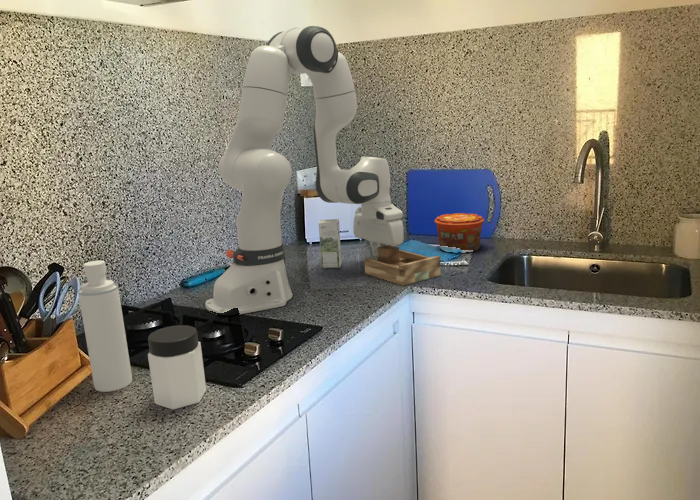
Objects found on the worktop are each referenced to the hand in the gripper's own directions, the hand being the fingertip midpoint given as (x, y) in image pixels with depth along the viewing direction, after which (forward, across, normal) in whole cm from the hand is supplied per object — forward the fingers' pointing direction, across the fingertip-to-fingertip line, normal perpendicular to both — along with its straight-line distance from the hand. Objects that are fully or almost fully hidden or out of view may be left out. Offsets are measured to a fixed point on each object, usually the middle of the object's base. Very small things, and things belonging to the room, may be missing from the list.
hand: (378, 255), depth 180 cm
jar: (+4, +42, -77) cm, 88 cm away
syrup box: (+4, -12, -9) cm, 15 cm away
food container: (+4, +2, +32) cm, 33 cm away
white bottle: (+4, +28, -85) cm, 89 cm away
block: (+1, +5, 0) cm, 5 cm away
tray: (+4, +11, 0) cm, 12 cm away
